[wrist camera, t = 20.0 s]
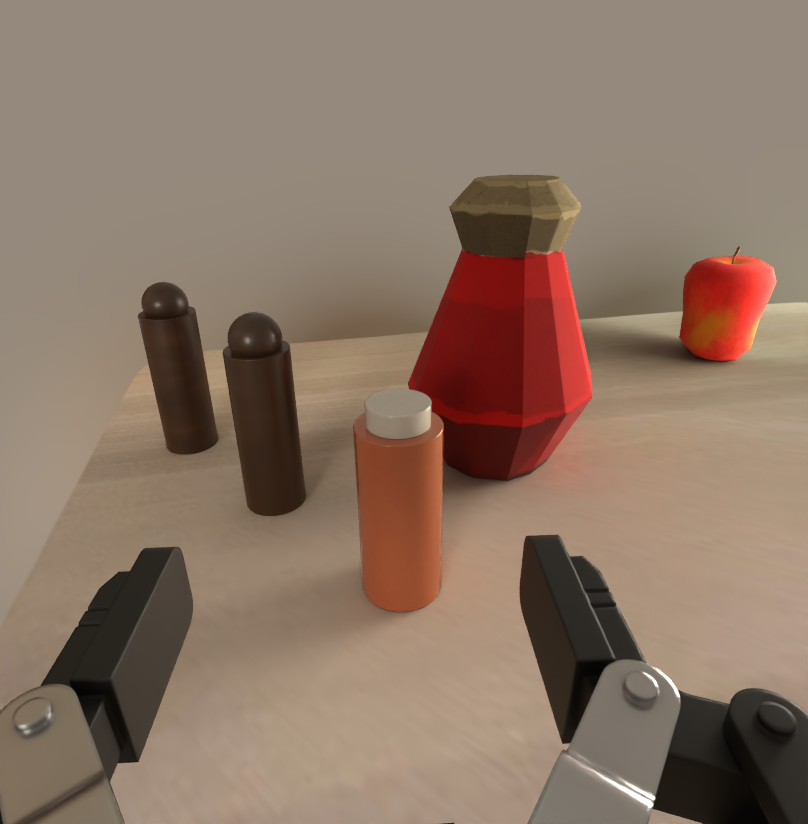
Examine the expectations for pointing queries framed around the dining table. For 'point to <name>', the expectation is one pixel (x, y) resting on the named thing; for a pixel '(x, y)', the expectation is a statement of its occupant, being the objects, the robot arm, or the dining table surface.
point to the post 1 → (177, 369)
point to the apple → (724, 305)
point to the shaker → (399, 498)
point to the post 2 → (264, 414)
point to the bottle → (507, 330)
